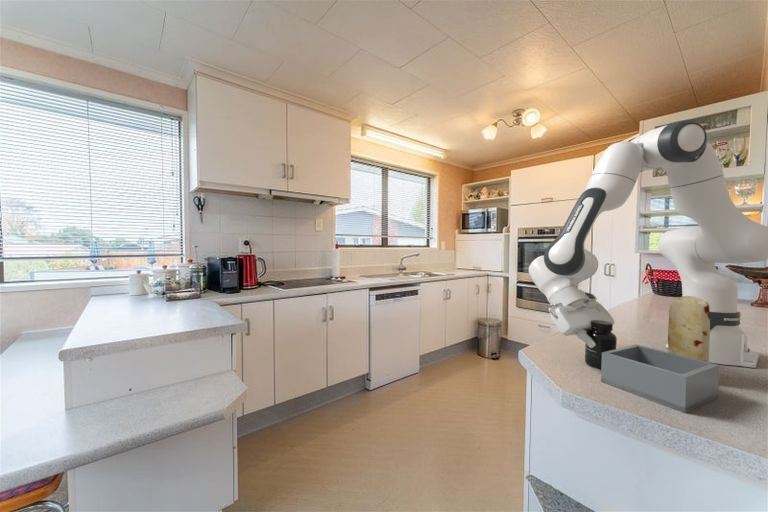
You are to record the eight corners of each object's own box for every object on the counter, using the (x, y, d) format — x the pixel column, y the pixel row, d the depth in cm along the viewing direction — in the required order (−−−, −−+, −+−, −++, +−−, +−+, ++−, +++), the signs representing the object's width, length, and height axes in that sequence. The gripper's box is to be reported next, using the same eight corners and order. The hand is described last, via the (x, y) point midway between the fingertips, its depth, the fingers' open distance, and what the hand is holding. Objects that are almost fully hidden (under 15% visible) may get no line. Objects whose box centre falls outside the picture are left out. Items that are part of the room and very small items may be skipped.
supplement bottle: (582, 365, 81) (583, 321, 81) (587, 359, 86) (588, 317, 86) (614, 373, 76) (615, 326, 76) (617, 365, 81) (618, 321, 81)
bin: (635, 371, 78) (635, 344, 78) (718, 397, 64) (719, 365, 64) (601, 381, 71) (601, 352, 71) (685, 413, 58) (686, 377, 58)
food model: (718, 386, 69) (722, 300, 69) (682, 382, 71) (685, 299, 71) (690, 370, 79) (692, 294, 78) (658, 367, 81) (661, 293, 80)
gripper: (553, 298, 82) (589, 343, 74) (597, 294, 91) (634, 334, 83) (538, 311, 87) (570, 355, 78) (581, 306, 95) (615, 345, 87)
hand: (603, 344), depth 80 cm, fingers closed on supplement bottle, 7 cm apart
